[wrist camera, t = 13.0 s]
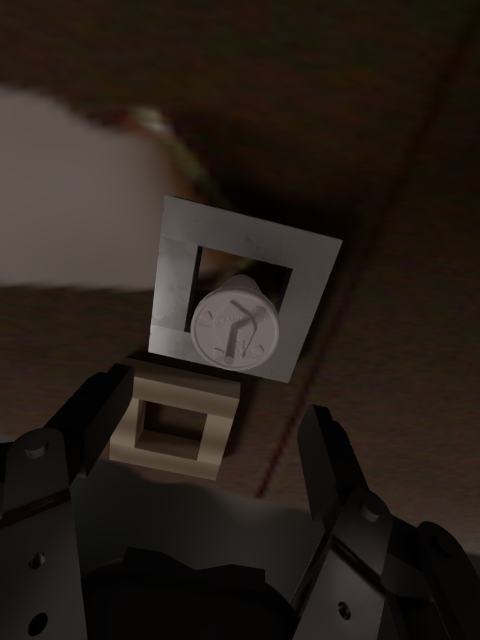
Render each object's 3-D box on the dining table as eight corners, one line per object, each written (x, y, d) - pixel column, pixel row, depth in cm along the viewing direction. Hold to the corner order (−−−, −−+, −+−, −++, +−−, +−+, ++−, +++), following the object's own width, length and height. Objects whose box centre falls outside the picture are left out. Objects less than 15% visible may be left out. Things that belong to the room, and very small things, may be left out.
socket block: (125, 357, 31) (113, 371, 28) (240, 382, 31) (239, 399, 29) (120, 440, 36) (109, 459, 34) (218, 460, 37) (215, 480, 34)
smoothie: (269, 257, 25) (287, 309, 13) (273, 317, 28) (292, 411, 15) (205, 264, 26) (159, 320, 13) (215, 322, 28) (184, 418, 16)
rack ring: (174, 196, 24) (164, 194, 21) (332, 236, 24) (342, 240, 22) (157, 338, 30) (148, 351, 27) (285, 367, 30) (288, 383, 28)
